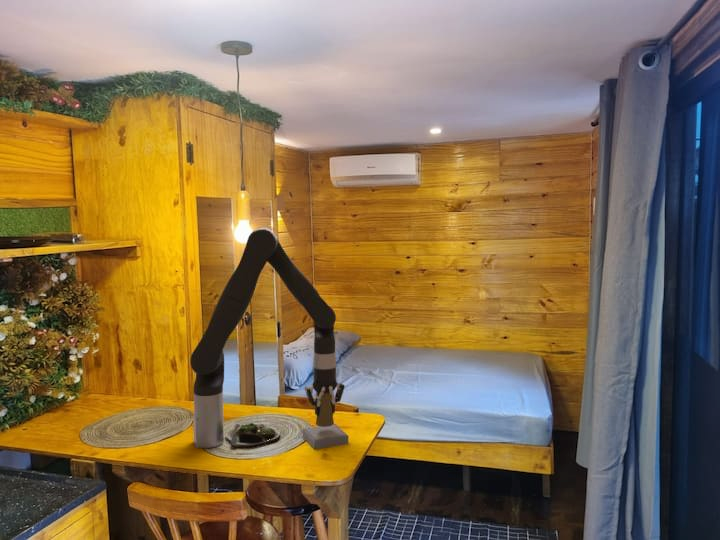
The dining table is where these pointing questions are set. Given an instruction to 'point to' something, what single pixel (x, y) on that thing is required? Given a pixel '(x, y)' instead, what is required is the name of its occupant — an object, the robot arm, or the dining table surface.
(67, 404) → the dining table surface
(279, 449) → the dining table surface
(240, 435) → the salad plate
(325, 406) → the brown pepper mill
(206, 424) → the robot arm
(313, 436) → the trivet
